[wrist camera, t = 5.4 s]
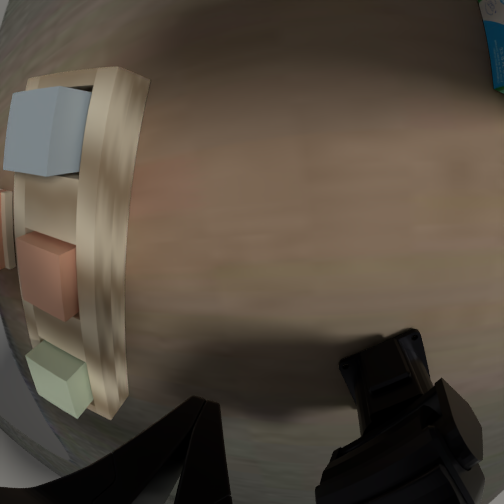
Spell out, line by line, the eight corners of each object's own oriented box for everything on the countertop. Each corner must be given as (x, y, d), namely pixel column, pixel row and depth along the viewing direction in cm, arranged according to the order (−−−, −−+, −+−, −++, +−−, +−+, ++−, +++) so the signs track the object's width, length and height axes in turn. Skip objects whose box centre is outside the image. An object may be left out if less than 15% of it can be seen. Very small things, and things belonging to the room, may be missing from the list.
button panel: (129, 394, 26) (110, 420, 22) (62, 361, 26) (42, 381, 23) (150, 80, 17) (118, 66, 13) (62, 84, 17) (28, 78, 14)
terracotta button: (88, 304, 20) (65, 322, 17) (46, 284, 20) (22, 298, 18) (87, 242, 18) (59, 255, 15) (42, 227, 19) (15, 238, 16)
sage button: (93, 398, 22) (77, 418, 19) (55, 377, 22) (38, 394, 20) (86, 360, 20) (66, 381, 18) (45, 338, 21) (25, 355, 18)
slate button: (79, 171, 16) (46, 176, 13) (34, 164, 16) (3, 169, 13) (92, 92, 14) (59, 86, 11) (43, 96, 14) (13, 93, 12)
